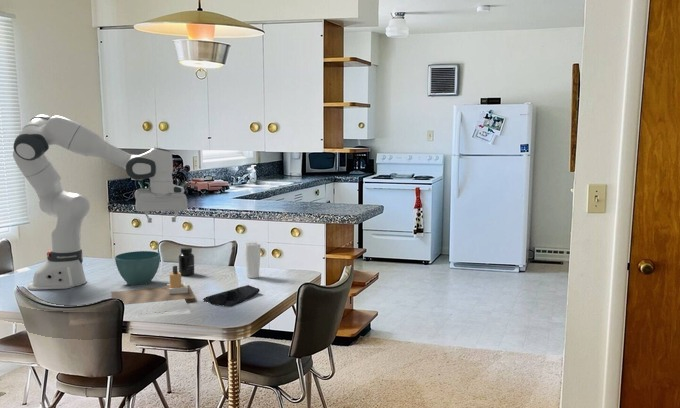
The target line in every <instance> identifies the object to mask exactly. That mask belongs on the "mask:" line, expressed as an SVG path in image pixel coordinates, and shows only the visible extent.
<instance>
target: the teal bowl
mask: <svg viewBox="0 0 680 408" xmlns="http://www.w3.org/2000/svg"><path fill="white" fill-rule="evenodd" d="M114 260H115V261H114V262H115V266H116V268H117V271H118V273H119V274H120V276H121V277H122V279H123V280H124V281H125V283H127V285H128V286H132V287H135V286H146V285H149V284H150V283H151V282H152V280H153V279H154V278H155V276H156V274H157V272H158V269H159V268H160V267H159V266H160V262H161V253H160V252H157V251H151V250H135V251H128V252H123V253H119V254H117V255H115V256H114Z"/></svg>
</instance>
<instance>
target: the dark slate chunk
mask: <svg viewBox="0 0 680 408" xmlns="http://www.w3.org/2000/svg"><path fill="white" fill-rule="evenodd" d="M259 292H260V288H259V287H255V286H253V285H249V284H246V285H244V286H239V287H236V288H233V289H230V290H225V291H221V292H218V293H215V294H212V295H211V294H210V295H208V296H206V297H204V298H202V301H203V300H204V301H203V303H207V302H208V304H210V303H211V304H210V305H214V304H215V306H219V305H222V306H223V305H224V307H232V306H234V304H235V305H237V303H238V304H240V303H242V302H244V301H246V300H248V299H250V298H253V297H254V296H255V295H257V294H258V293H259ZM245 299H246V300H245Z"/></svg>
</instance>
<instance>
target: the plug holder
mask: <svg viewBox="0 0 680 408" xmlns="http://www.w3.org/2000/svg"><path fill="white" fill-rule="evenodd" d="M187 285H188V284H187V283H186V282H181V287H179V288H170V283H166V287H167V290H169V294H177V293H188V287H187Z"/></svg>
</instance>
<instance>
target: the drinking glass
mask: <svg viewBox="0 0 680 408" xmlns="http://www.w3.org/2000/svg"><path fill="white" fill-rule="evenodd" d="M261 251H262V250H261V243H260V242H247V243H246V242H245V244H244V257H245V264H246V265H245V266H246V267H245V268H246V277H247V278H249V279H257V278H259V277H260V265H261Z"/></svg>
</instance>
